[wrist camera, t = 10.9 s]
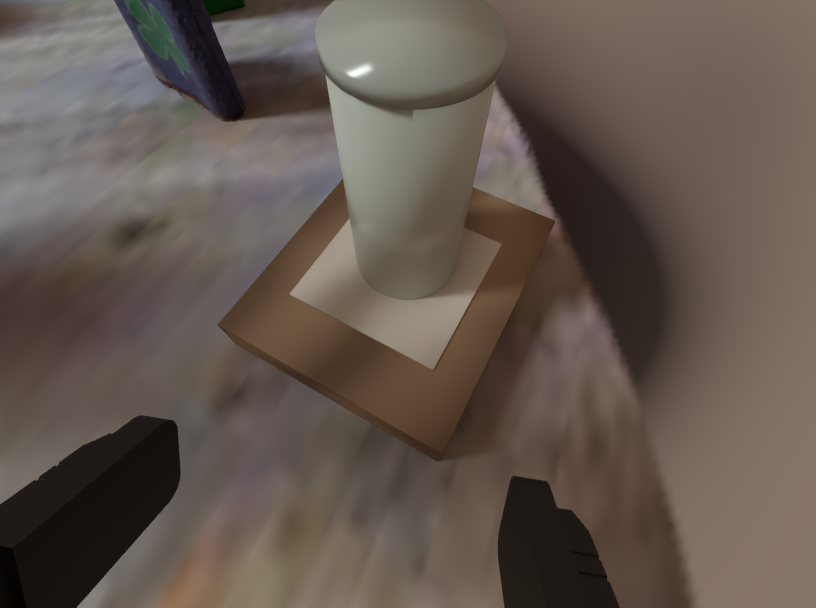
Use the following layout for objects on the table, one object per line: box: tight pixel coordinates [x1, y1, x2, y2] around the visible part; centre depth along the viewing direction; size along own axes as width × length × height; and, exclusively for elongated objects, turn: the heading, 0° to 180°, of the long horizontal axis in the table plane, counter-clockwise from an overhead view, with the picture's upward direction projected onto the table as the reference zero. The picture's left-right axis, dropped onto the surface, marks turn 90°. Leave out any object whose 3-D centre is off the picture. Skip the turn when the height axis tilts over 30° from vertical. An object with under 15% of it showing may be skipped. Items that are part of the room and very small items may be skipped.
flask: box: [114, 0, 247, 122], centre depth 26 cm, size 9×3×11 cm, turn 52°
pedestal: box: [218, 179, 555, 461], centre depth 22 cm, size 12×14×3 cm
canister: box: [315, 0, 508, 300], centre depth 16 cm, size 5×5×11 cm
